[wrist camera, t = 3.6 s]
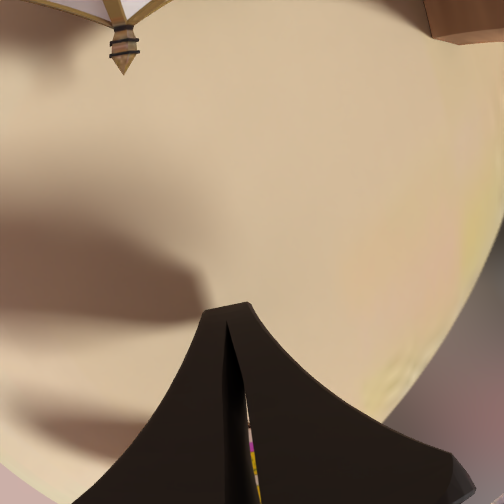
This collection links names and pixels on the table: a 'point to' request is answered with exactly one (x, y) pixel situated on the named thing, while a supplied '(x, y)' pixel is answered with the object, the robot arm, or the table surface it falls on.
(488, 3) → the l-shaped bracket
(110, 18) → the game die
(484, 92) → the table surface
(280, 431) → the robot arm
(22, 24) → the table surface
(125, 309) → the table surface
